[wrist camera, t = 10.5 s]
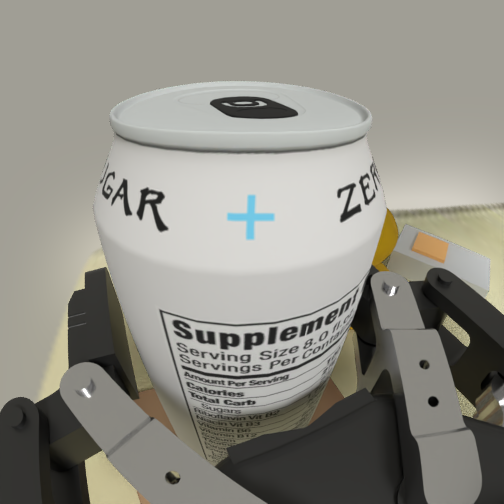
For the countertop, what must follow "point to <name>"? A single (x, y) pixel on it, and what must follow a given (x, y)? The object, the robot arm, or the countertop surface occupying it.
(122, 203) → the energy drink can
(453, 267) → the block
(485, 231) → the countertop surface
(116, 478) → the countertop surface
